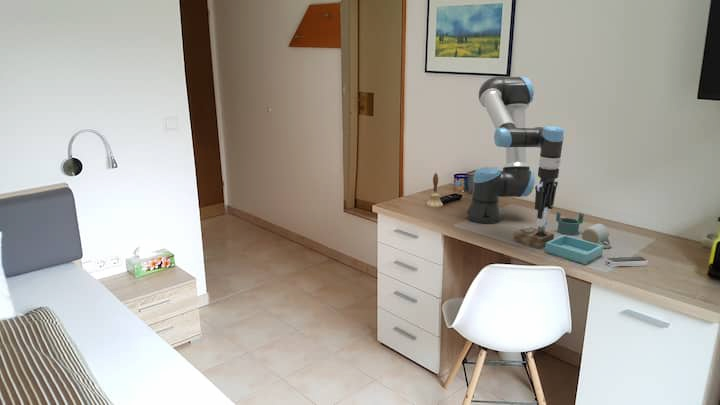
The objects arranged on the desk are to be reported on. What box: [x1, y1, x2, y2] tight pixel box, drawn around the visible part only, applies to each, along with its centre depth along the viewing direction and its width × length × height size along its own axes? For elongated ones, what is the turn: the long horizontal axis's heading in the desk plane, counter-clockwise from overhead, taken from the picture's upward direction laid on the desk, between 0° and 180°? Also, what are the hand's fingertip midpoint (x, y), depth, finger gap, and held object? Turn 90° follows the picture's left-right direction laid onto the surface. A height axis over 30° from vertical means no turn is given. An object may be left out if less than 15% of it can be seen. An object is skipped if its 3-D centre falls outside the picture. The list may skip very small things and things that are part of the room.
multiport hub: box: [604, 256, 649, 267], centre depth 196 cm, size 4×14×2 cm, turn 98°
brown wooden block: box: [512, 225, 555, 250], centre depth 216 cm, size 12×10×5 cm
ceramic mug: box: [581, 223, 613, 249], centre depth 214 cm, size 11×8×8 cm
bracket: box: [555, 211, 585, 236], centre depth 229 cm, size 9×9×9 cm
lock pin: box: [537, 206, 548, 237], centre depth 213 cm, size 3×3×13 cm
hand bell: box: [425, 172, 444, 208], centre depth 263 cm, size 8×8×16 cm
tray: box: [544, 234, 604, 266], centre depth 205 cm, size 16×14×4 cm
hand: (541, 224), depth 213 cm, fingers closed on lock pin, 3 cm apart
